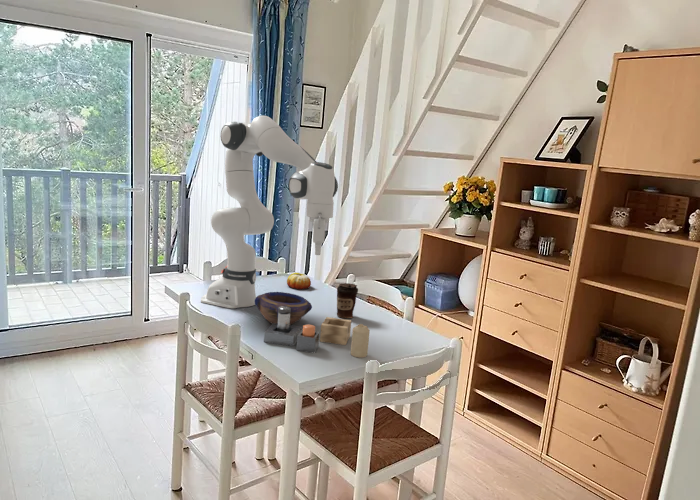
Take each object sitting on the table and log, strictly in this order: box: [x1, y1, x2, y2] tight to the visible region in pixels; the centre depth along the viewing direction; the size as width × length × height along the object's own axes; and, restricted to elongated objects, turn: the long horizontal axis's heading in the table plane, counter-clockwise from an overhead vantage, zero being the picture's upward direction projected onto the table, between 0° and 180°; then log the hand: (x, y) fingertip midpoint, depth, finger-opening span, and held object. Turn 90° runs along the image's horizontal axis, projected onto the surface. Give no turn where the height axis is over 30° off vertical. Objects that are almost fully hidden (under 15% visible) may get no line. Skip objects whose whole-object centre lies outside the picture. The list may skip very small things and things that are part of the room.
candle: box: [350, 323, 370, 359], centre depth 172 cm, size 6×6×10 cm
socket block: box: [263, 323, 302, 347], centre depth 181 cm, size 10×10×4 cm
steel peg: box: [277, 306, 291, 333], centre depth 180 cm, size 4×4×11 cm
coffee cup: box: [336, 282, 359, 319], centre depth 209 cm, size 9×8×13 cm
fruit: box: [286, 272, 312, 291], centre depth 247 cm, size 11×10×8 cm
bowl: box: [254, 291, 313, 325], centre depth 197 cm, size 18×18×10 cm
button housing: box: [296, 329, 321, 354], centre depth 174 cm, size 6×6×5 cm
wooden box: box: [319, 316, 352, 346], centre depth 185 cm, size 9×9×6 cm
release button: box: [302, 324, 316, 337], centre depth 174 cm, size 4×4×4 cm
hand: (317, 252), depth 180 cm, fingers open, 8 cm apart
